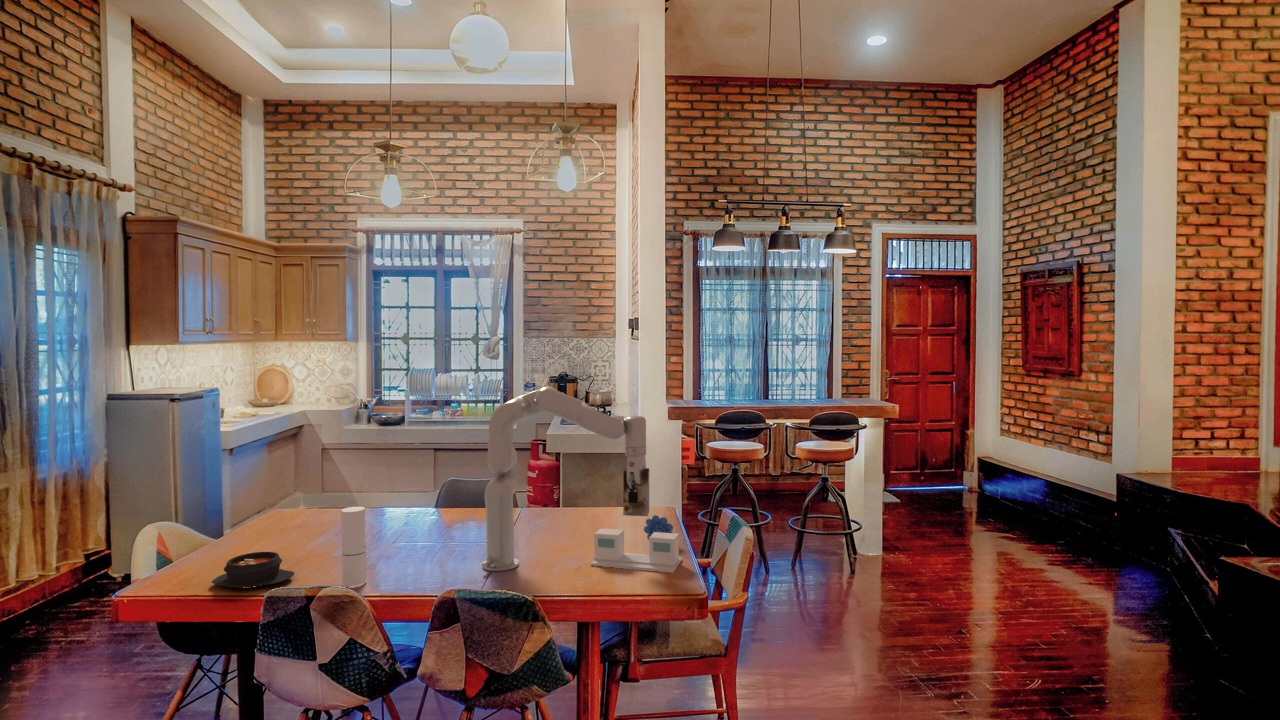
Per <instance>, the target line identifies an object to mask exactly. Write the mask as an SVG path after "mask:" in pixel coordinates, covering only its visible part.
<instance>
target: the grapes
mask: <svg viewBox="0 0 1280 720" xmlns="http://www.w3.org/2000/svg"><path fill="white" fill-rule="evenodd" d="M645 524H646V525H645V526H644V528H643V531H644V532H645V534H647V536H646V537H647V540H648V541H649V537H650V536H651V535H652V534H653V533H654V532H660V533H673V532H672V531H673V529H674V526H673V524H671V523H670V522H669V523H668V518H666V517H664V516H661V517H659V516H658V515H656V514H654V515H652V517H651V518H647V519H645Z"/></svg>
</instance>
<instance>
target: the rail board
mask: <svg viewBox="0 0 1280 720" xmlns="http://www.w3.org/2000/svg"><path fill="white" fill-rule="evenodd" d="M679 535H680V534H679V533H674V532H672V533H660V532H654V533H653V534H652V535H651V536H650V537H649V540H648V546H649V548H648V551H649V554H641V553H633V552H632V553H631V552H625V530H624V529H616V528H615V529H614V528H599V529H598V530H596V532H595V533H594V534H593V536H594V541H593V542H594V547H593V548H594V558H593V560H592V561H591V562H590V565H593V566H592V567H598V566H602V567H601V568H609V567H614V568H613V569H621V568H623V570H632V569H633V570H634V571H635V570H636V571H646V572H655V571H660V572H659V573H667V572H668V573H670V574H674V572H676V569H677V568H678V566H680V564H681V562H682V560H683V559H682V557H680V556H679V555H680V550H679V549H680V548H679V546H680V544H679V543H680V542H679V538H680V536H679ZM668 573H667V574H668Z"/></svg>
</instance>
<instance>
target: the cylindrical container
mask: <svg viewBox="0 0 1280 720" xmlns="http://www.w3.org/2000/svg"><path fill="white" fill-rule="evenodd" d="M340 513H341V519H340V521H341V556H342V557H341V562H342V564H341V565H342V566H341V567H342V568H341V569H342V587H343V586H347V587H349V586H352V585H358V584H361V583H364V582H365V581H366V582H367V552H366V507H364V506H348V507H345V508H342V509H341V511H340ZM343 584H344V585H343Z"/></svg>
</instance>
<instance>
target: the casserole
mask: <svg viewBox="0 0 1280 720" xmlns="http://www.w3.org/2000/svg"><path fill="white" fill-rule="evenodd" d="M282 563H283V559H282V557H280V555H279V554H278V553H277V552H274V551H257V552H250V553H244V554H240V555H238V556H235V557H232V558H230V559H229V560H228V561H227V562H226V565H225V566H224V567H223V571H224V572H225V573H223V574H221V575H218V576H216V577H215V578H214V579H212V581H211V583H212V584H213V583H215V584H214V585H216V584H221V585H220V586H223V585H224V586H223V587H225V586H227V587H226V588H230V587H236V588H235V589H238V588H243V587H253V586H260V585H264V586H269V584H271V585H276V584H275V583H277V584H279V582H280V583H283V582H285V581H287V580H289V579H291V578H292V577H294V575H295V572H294V571H292V570H286V569H282V568H280V567H281V564H282ZM282 581H283V582H282ZM260 587H261V586H260Z"/></svg>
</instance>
